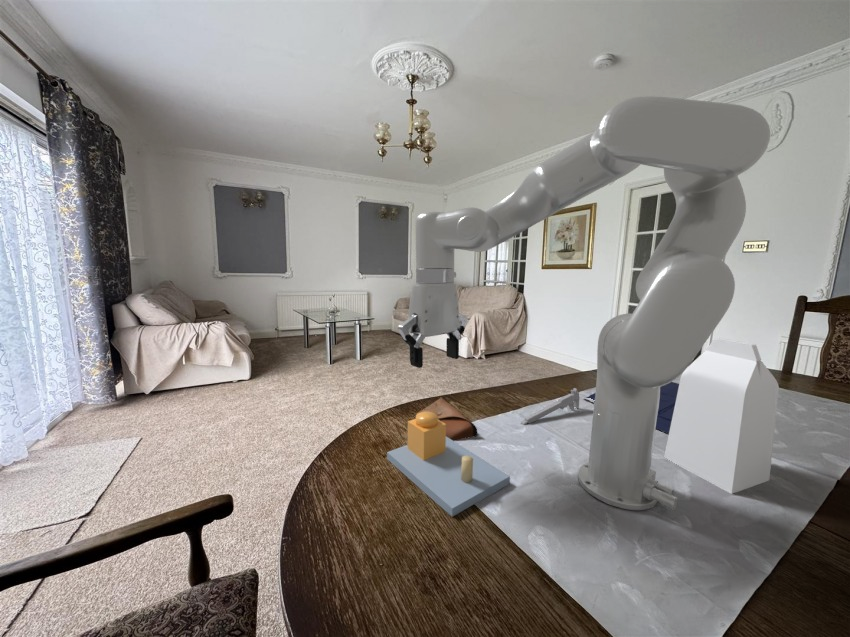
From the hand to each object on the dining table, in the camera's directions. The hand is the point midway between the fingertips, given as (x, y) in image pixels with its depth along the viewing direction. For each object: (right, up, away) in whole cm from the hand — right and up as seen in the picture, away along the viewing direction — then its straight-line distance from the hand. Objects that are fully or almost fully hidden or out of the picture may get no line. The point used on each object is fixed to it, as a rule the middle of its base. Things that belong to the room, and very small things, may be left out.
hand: (435, 361), depth 70 cm
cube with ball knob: (-2, -18, +1) cm, 18 cm away
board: (+2, -21, -4) cm, 21 cm away
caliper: (+31, -18, +21) cm, 42 cm away
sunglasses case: (+3, -18, +16) cm, 24 cm away
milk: (+56, -21, -2) cm, 60 cm away
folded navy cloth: (+64, -17, +28) cm, 72 cm away
